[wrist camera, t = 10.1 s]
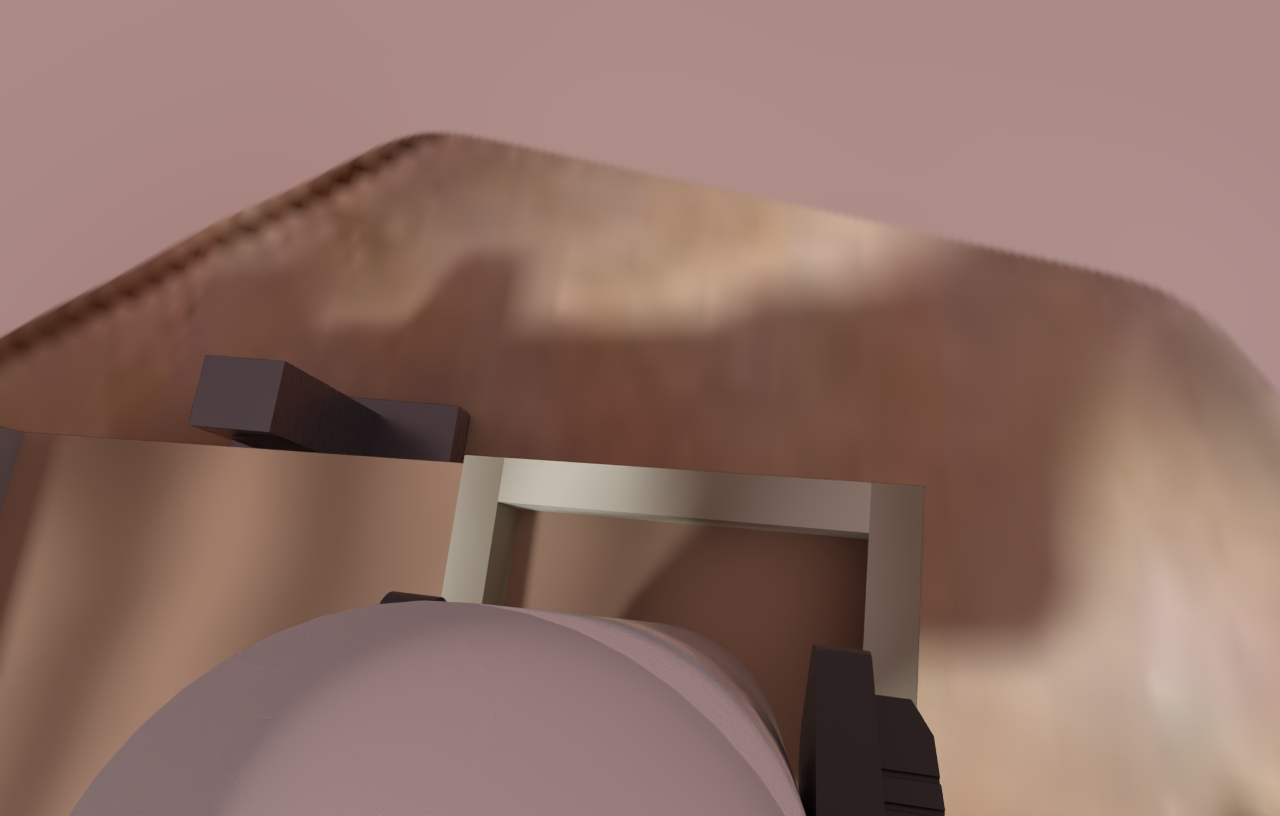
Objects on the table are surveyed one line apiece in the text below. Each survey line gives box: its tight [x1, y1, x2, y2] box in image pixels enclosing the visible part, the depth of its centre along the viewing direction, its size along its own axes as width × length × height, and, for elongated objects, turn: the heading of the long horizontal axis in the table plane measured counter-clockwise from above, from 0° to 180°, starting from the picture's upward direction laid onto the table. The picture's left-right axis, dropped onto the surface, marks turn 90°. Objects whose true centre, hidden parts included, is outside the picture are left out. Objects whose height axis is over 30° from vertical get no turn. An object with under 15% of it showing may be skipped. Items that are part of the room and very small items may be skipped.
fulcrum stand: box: [188, 355, 470, 463], centre depth 25 cm, size 8×16×7 cm, turn 173°
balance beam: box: [0, 426, 925, 816], centre depth 19 cm, size 30×10×5 cm, turn 84°
